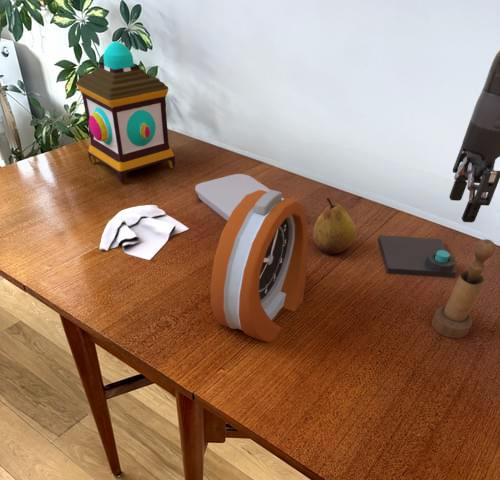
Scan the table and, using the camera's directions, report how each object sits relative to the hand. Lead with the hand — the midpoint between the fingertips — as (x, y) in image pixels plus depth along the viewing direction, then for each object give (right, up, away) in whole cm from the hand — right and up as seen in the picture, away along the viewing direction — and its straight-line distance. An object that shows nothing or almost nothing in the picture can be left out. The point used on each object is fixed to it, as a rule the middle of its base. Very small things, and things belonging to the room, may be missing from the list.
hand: (460, 210), depth 88 cm
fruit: (-22, -5, +15) cm, 27 cm away
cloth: (-65, -1, +16) cm, 67 cm away
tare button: (0, -8, +8) cm, 12 cm away
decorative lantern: (-73, +23, +42) cm, 87 cm away
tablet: (-41, +8, +27) cm, 50 cm away
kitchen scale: (-4, -7, +13) cm, 15 cm away
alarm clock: (-37, -19, -2) cm, 42 cm away
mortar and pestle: (-4, -22, -3) cm, 23 cm away
